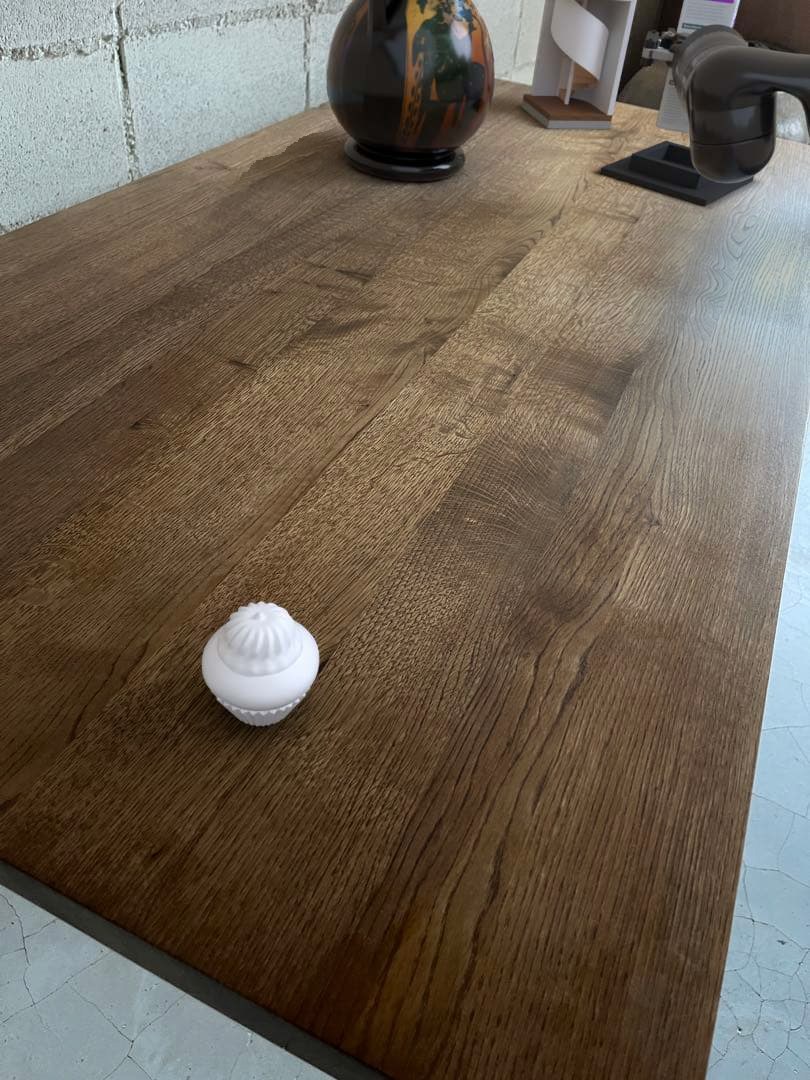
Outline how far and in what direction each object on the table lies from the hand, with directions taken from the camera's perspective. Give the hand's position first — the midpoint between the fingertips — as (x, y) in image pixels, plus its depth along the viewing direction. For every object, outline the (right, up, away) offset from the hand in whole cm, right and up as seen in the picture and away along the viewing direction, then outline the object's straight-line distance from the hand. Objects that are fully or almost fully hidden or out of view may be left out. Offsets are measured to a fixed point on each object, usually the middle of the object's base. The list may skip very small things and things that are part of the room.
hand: (699, 42), depth 104 cm
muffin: (-41, -66, -54) cm, 95 cm away
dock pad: (+5, -6, +25) cm, 26 cm away
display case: (-8, +11, +44) cm, 46 cm away
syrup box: (-1, -8, +4) cm, 9 cm away
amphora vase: (-34, -6, +19) cm, 39 cm away
